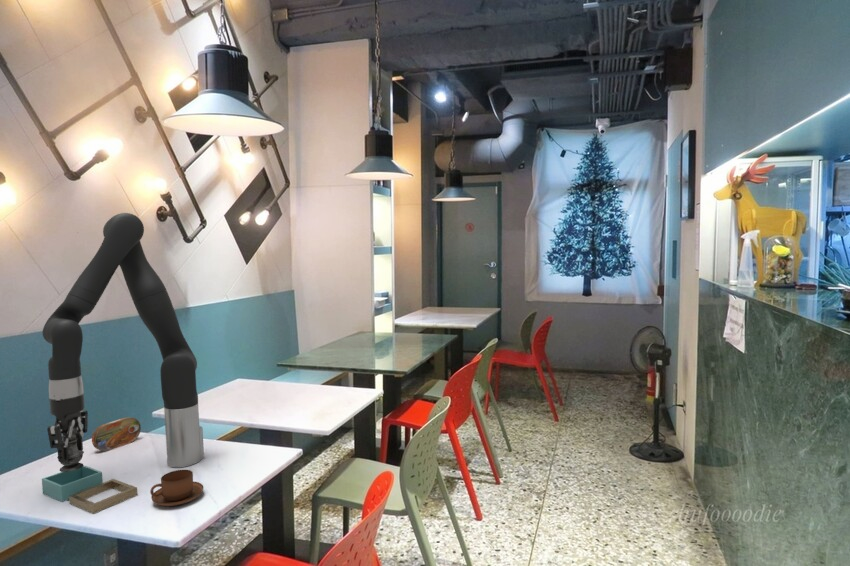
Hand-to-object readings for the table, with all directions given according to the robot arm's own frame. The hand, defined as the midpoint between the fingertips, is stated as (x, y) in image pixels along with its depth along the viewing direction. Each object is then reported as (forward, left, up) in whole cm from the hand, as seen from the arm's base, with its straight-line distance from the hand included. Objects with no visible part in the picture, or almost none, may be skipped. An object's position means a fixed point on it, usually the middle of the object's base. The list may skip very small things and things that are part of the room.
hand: (71, 456), depth 140 cm
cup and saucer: (-10, +30, -10) cm, 33 cm away
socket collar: (-1, +13, -9) cm, 16 cm away
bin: (0, 0, -9) cm, 9 cm away
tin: (-24, -22, -9) cm, 34 cm away
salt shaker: (0, 0, -3) cm, 3 cm away
